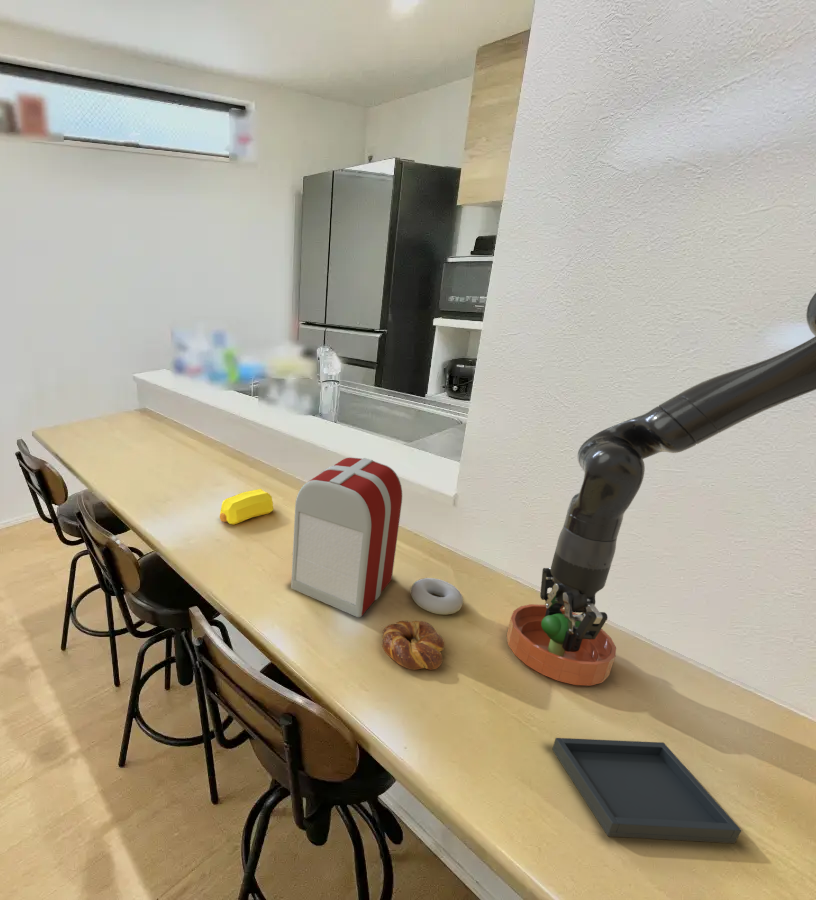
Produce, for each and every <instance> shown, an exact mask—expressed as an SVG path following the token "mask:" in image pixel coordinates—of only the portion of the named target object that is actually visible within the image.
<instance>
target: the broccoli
mask: <svg viewBox="0 0 816 900" xmlns="http://www.w3.org/2000/svg"><path fill="white" fill-rule="evenodd" d="M579 625H580V621H576V622H575V627H579ZM541 626H542V629H543V631H544V632H545V633H546V634H547V635H548V637H549V638H550V643H549V646H548V651H549V652H550V653H553V654H556V655H558V656H563V655H564V653H565V650H564V649H563V648H562V646H563V642H564V639H565V635H566V632H567V631H568V620H567V619H566V618H565V616H564V614H561V613H558V614H553V615H548V616H546V617H544V618H543V619H542V622H541Z"/></svg>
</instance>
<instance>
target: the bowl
mask: <svg viewBox="0 0 816 900" xmlns="http://www.w3.org/2000/svg"><path fill="white" fill-rule="evenodd" d="M546 610H547V608H546V607H545V604H537V603H535V604H534V603H532V604H526V605H521V606H519V607H517V608H516V609H514V610H512V611H513V612H512V613H511V616H510V620H509V624H508V628H507V633H506V641H507V644H508V647H509V648H510V650H511V651H512V653H513V654H514V656H516V658H518V659H519V660H520V661H522V663H523V664H524V665H526V666H527V667H529V668H530V669H532V670H534V671H535V672H537V673H539V674H541V675H543V676H546V677H547V678H550V679H552V680H555V681H557V682H561V683H565V684H570V685H573V686H589V687H590V686H595V685H598V684H602V683H603V682H605V681H606V679H608V678H609V676H610V674H611V671H612V668H613V665H614V662H615V660H616V654H617V646H616V645H615V644H616V643H614V640H613V639H612V637H611V636H610V635H609V634H608V633H607V632H606V631H605V630H604V629H603V627H602V628H601V630H600V632H599V633H598V635H597V636H596V638H595V639H582V642H581V645H580V649H579V650H578V651H576V652H567V651H565V653H564V655H563V656H558V655H556V654H553V653H550V652H549V651H548V646H549V643H550V638H549V637H548V635H547V634H546V633H545V632H544V631H543V629H542V626H541V622H542V619H543V618H544V617H545V614H546ZM560 610H561V611H562V614H564V608H563V609H560ZM572 615H579V613H575V612H572Z"/></svg>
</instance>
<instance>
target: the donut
mask: <svg viewBox="0 0 816 900" xmlns="http://www.w3.org/2000/svg"><path fill="white" fill-rule="evenodd" d="M410 596H411V598H412V600H413V602H414V603H415V604H416V605H417V606H418V607H420V608H421V609H423V610H424V611H427V612H429V613H432V614H435V615H441V616H442V615H444V616H445V615H447V616H448V615H451V614H455V613H457V612H459V611H460V610H461V608H463V605H464V598H463V595H462V593H461V591H460V590H459V589H458V588H457V587H456V586H455V585H453V584H452V583H450V582H448V581H445V580H443V579H439V578H434V577H424V578H420V579H418V580H416V581H415V582H413V584H412V585H411V587H410Z"/></svg>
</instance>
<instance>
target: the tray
mask: <svg viewBox="0 0 816 900" xmlns="http://www.w3.org/2000/svg"><path fill="white" fill-rule="evenodd" d="M552 751H553V753H554V754H555V756H556V758H557V759H558V761H559V762H560V764H561V766H563V769H564V770H565V772H566V773H567V775H568V777H569V778H570V779H571V782H572V783H573V785H574V786H575V788H576V789H577V791H578V792H579V794H580V795H581V797H582V798H583V800H584V802H585V803H586V805H587V806H588V808H589V810H590V811H591V812H592V814H593V816H594V817H595V819H596V821H597V822H598V824H599V825H600V827H601V828H602V829H603V832H604V833H605V834H606V837H613V838H614V837H615V838H633V839H652V840H668V841H669V840H670V841H689V842H706V843H724V844H735V843H736V842H737V840H738V839H739V837H740V835H741V833H742V829H741V828H740V827H739V826H738V824H737V823H736V822H735V821H734V820H733V819H732V818H731V817H730V816H729V815H728V813H727V812H726V811H725V809H723V808H722V806H720V804H719V803H718V802H717V801H716V800H715V799H714V797H713V796H712V795H711V794H710V793H709V792H708V791H707V790H706V789H705V787H704V786H703V785H702V784H701V783H700V782H699V781H698V779H696V777H695V776H694V775H693V774H692V773H691V772H690V770H689V769H688V768H687V767H686V766H685V765H684V763H683V762H681V760H680V759H679V758H678V757H677V756H676V754H674V752H673V751H672V750H671V749H670V748H669V747H668V746H667V745H666V743H665V742H664V741H663V742H661V741H639V740H637V741H634V740H615V739H614V740H613V739H594V738H593V739H592V738H571V737H570V738H569V737H555V739H554V741H553V746H552Z"/></svg>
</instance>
